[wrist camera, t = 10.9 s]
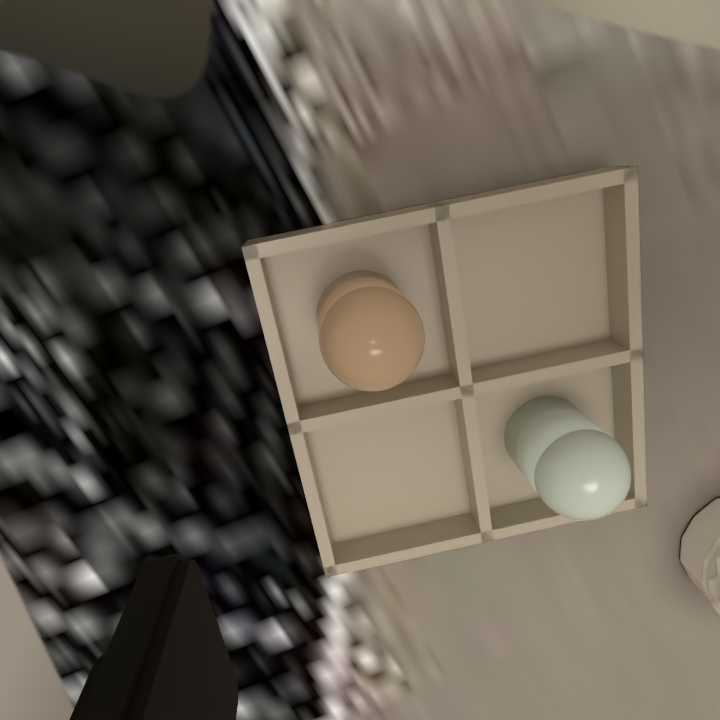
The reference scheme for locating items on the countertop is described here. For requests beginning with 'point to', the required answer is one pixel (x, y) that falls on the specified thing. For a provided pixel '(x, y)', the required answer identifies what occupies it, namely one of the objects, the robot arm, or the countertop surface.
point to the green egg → (568, 458)
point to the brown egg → (369, 331)
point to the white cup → (704, 552)
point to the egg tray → (459, 359)
